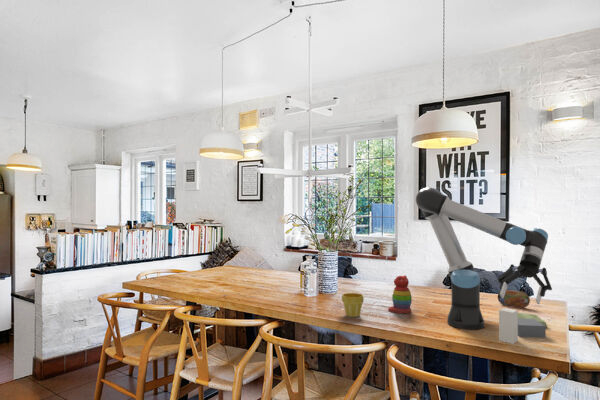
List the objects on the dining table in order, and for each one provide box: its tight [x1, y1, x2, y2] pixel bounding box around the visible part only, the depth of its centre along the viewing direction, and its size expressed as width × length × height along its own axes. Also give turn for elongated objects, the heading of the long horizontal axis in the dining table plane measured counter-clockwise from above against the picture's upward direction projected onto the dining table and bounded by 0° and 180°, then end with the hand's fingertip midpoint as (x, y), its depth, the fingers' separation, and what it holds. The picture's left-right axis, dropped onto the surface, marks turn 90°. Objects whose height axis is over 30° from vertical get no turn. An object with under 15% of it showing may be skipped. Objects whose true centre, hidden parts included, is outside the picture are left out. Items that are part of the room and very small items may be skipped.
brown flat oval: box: [497, 289, 531, 309], centre depth 208 cm, size 15×3×8 cm, turn 47°
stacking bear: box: [388, 275, 412, 314], centre depth 199 cm, size 11×10×18 cm
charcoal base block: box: [518, 318, 547, 339], centre depth 164 cm, size 10×10×5 cm
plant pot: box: [341, 292, 364, 318], centre depth 191 cm, size 10×10×10 cm
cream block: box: [498, 307, 519, 345], centre depth 155 cm, size 5×5×12 cm
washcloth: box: [518, 312, 548, 328], centre depth 181 cm, size 13×18×3 cm
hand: (518, 299), depth 162 cm, fingers open, 13 cm apart
